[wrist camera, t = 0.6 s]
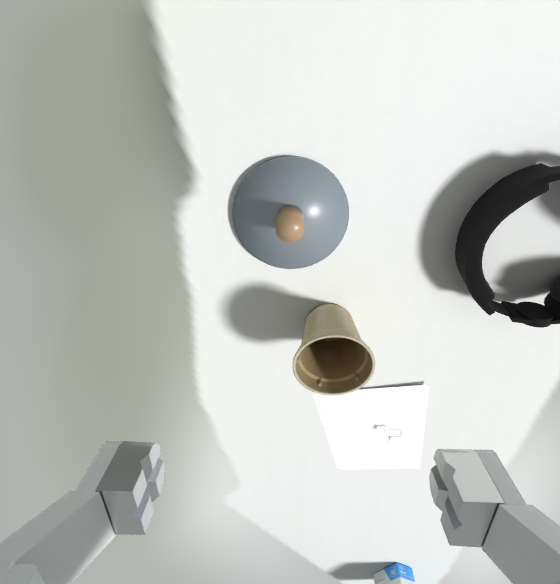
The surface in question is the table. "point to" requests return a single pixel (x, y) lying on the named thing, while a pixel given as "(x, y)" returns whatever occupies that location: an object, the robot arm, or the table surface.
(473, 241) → the headphones
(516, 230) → the table surface
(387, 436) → the paper sheet
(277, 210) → the lid
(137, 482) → the robot arm
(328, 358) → the flower pot
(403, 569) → the ink box
